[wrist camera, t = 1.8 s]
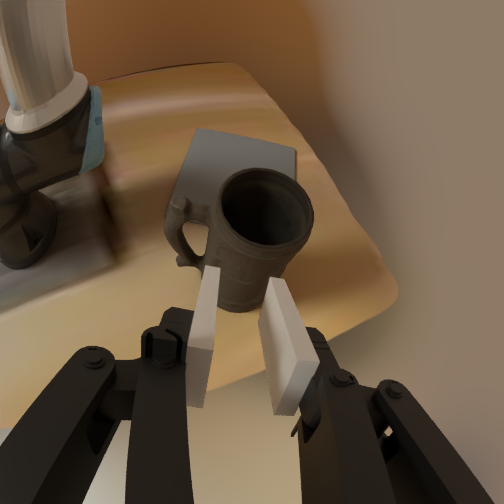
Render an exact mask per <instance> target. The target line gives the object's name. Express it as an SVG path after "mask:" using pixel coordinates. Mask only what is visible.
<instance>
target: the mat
mask: <svg viewBox="0 0 504 504" xmlns="http://www.w3.org/2000/svg"><path fill="white" fill-rule="evenodd" d="M254 167H255V168H268V169H272V170H276V171H278V172H281V173H283V174H285V175H287V176H289V177H290V178H292V179H293V180H295V148H292V147H288V146H284V145H280V144H276V143H272V142H268V141H263V140H259V139H254V138H250V137H245V136H240V135H235V134H230V133H225V132H219V131H213V130H208V129H202V128H197V130H196V132H195V135H194V137H193V140H192V142H191V145H190V147H189V150H188V152H187V155H186V158H185V160H184V163H183V165H182V168H181V171H180V174H179V176H178V179H177V182H176V185H175V188H174V190H173V193H172V196H171V199H172V198H173V197H175V196H179V195H185V196H186V197H187V198H188V199H189V200H190V201H191V202H194V203H199V204H204V205H209V206H211V205H212V204H213V201H214V198H215V196H216V194H217V192H218V191H219V188H220V187H221V185H222V184H223V182H224V181H225V180H226V179H227V178H228V177H229V176H231V175H232V174H234V173H236V172H238V171H241V170H243V169H248V168H254ZM171 199H170V200H171ZM170 209H171V205H170V202H169V205H168V208H167V211H166V214H165V218H167V216H168V214H169V213H170ZM187 222H192V223H198V224H203V225H206V224H205V223H202V222H199V221H195V220H190V221H187Z"/></svg>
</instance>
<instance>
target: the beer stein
mask: <svg viewBox="0 0 504 504" xmlns="http://www.w3.org/2000/svg"><path fill="white" fill-rule="evenodd" d="M170 205H171V209H170V213H169V214H168V216H167V218H166V221H165V225H164V232H165V236H166V238H167V240H168V242H169V244H170V245H171V246H172V247H173V249H174V250H175V251H176V252H177V253H178V254H179V255H178V256H177V258H176V262H177V265H178V266H179V267H182V266H192V267H196V268H198V269H199V270H201V272H202V277H203V273H204V269H205V265H207V266H213V267H218V268H220V278H219V289H218V300H217V306H218V307H219V308H221V309H223V310H226V311H229V312H246V311H250V310H252V309H254V308H256V307H257V306H259V305H260V304H261V303H262V302H263V301H264V298H265V294H266V290H267V286H268V283H269V279H270V277H274V278H280V276H281V275H282V273H283V272H284V270H285V268H286V265H287V264H288V263H289V261H290V260H291V259H292V258H293V257H294V256H295V254H296V253H297V252H299V251H300V250H301V249H302V247H303V246H304V245H305V244H306V242H307V241H308V238H309V236H310V234H311V229H312V227H313V222H314V211H313V208H312V204H311V201H310V199H309V197H308V195H307V194H306V192H305V190H304V189H303V188H302V187H301V186H300V185H299V184H298V183H297V182H296V181H295V180H293V179H292V178H290V177H289V176H287V175H285V174H283V173H281V172H278V171H276V170H272V169H268V168H255V167H254V168H248V169H243V170H241V171H238V172H236V173H234V174H232V175H231V176H229V177H228V178H227V179H226V180H225V181H224V182H223V184H222V185H221V187H220V188H219V191H218V192H217V194H216V196H215V198H214V201H213V204H212V205H211V206H209V205H204V204H199V203H194V202H191V201H190V200H189V199H188V198H187V197H186V196H185V195H179V196H175V197H173V198H172V199H171V200H170ZM190 220H195V221H199V222H202V223H205V224H206V225H207V226H208V227H209V233H208V239H207V245H206V251H205V254H204V255H203V256H198V255H196V254H195V253H194V252H193V250H192V249H191V247H190V246H189V244H188V243H187V241H186V239H185V237H184V234H183V232H182V225H183V224H184V223H185V222H187V221H190ZM202 277H201V278H202Z"/></svg>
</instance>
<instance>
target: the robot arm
mask: <svg viewBox="0 0 504 504" xmlns="http://www.w3.org/2000/svg"><path fill="white" fill-rule="evenodd" d="M0 77H1V80H2V83H3V86H4V89H5V92H6V94H7V97H8V99H9V102H10V107H9V110H8V112H7V115H6V119H5V122H4V123H2V124H0V262H1V263H3V264H4V265H5V266H7V267H8V268H11V269H20V268H24V267H27V266H29V265H30V264H32V263H33V262H35V261H36V260H37V259H38V258H39V257H40V256H41V255H42V254H43V253H44V252H45V250H46V249H47V248H48V246H49V244H50V242H51V240H52V238H53V236H54V233H55V229H56V223H57V216H56V211H55V209H54V207H53V205H52V203H51V201H50V200H49V198H48V197H47V196H46V195H44V194H43V193H41V192H39V191H38V190H40V189H42V188H45V187H47V186H50V185H52V184H55V183H57V182H60V181H63V180H65V179H68V178H71V177H74V176H77V175H81V174H82V173H83V172H85V171H87V170H90V169H92V168H95V167H97V166H98V165H99V164H100V163H101V162H102V160H103V158H104V135H103V122H102V102H101V91H100V88H99V87H98V86H90V87H89V86H88V81H87V79H86V77H85V76H84V75H83V74H81V73H78V72H75V71H73V65H72V60H71V53H70V46H69V39H68V30H67V19H66V7H65V0H0ZM219 278H220V268H218V267H213V266H207V265H205V269H204V273H203V277H202V282H201V286H200V290H199V294H198V299H197V303H196V307H195V311H191V310H186V309H181V308H176V307H171V308H169V309H168V310H167V311H165V312H164V314H163V317H162V319H161V322H160V324H159V326H155V327H150V328H148V329H147V330H145V331H144V332H143V334H142V336H141V357H140V358H138V359H134V360H115V358H114V356H113V354H112V353H111V352H110V351H109V350H107V349H105V348H103V347H98V346H87V347H84V348H81V349H79V350H78V351H77V352H76V353H75V354H74V355H73V356H72V357H71V358H70V359H69V360H68V362H67V363H66V364H65V365H64V366H63V367H62V369H61V370H60V371H59V372H58V373H57V374H56V376H55V377H54V378H53V379H52V380H51V381H50V383H49V384H48V385H47V386H46V387H45V389H44V390H43V391H42V392H41V394H40V395H39V396H38V397H37V398H36V400H35V401H34V402H33V403H32V405H31V406H30V407H29V408H28V410H27V411H26V412H25V414H24V415H23V416H22V417H21V419H20V420H19V421H18V423H17V424H16V425H15V427H14V428H13V429H12V431H11V432H10V433H9V435H8V436H7V437H6V439H5V441H4V442H3V443H2V444H1V446H0V504H82V503H83V501H84V498H85V496H86V494H87V492H88V489H89V487H90V485H91V483H92V481H93V479H94V476H95V474H96V472H97V470H98V467H99V465H100V463H101V461H102V459H103V457H104V455H105V453H106V451H107V449H108V447H109V445H110V443H111V441H112V438H113V436H114V434H115V432H116V430H117V428H118V426H119V424H120V422H121V420H131V428H130V437H129V448H128V459H127V471H126V491H125V504H194V499H193V491H192V481H191V471H190V459H189V446H188V430H187V410H186V406H192V407H198V408H203V404H204V398H205V393H206V387H207V382H208V376H209V371H210V365H211V360H212V354H213V347H214V335H215V322H216V311H217V300H218V289H219ZM258 325H259V331H260V336H261V342H262V348H263V354H264V360H265V366H266V372H267V378H268V383H269V389H270V395H271V401H272V407H273V412H274V415H286V416H294V414H295V412H296V411H297V408H298V407H299V408H300V412H301V416H300V418H299V420H298V422H297V424H296V425H295V427H294V429H293V430H292V432H291V437H294V435H295V433H296V432H297V430H298V443H299V457H300V474H301V491H302V504H494V502H493V501H492V499H491V498H490V497H489V495H488V494H487V493H486V491H485V489H484V488H483V487H482V485H481V484H480V483H479V481H478V480H477V478H476V477H475V476H474V474H473V473H472V472H471V470H470V469H469V468H468V466H467V465H466V463H465V462H464V461H463V459H462V458H461V457H460V455H459V454H458V453H457V451H456V450H455V449H454V448H453V446H452V445H451V444H450V442H449V441H448V440H447V438H446V437H445V436H444V434H443V433H442V432H441V431H440V429H439V428H438V427H437V426H436V424H435V423H434V422H433V420H431V418H430V417H429V415H428V414H427V413H426V412H425V410H424V409H423V408H422V407H421V405H420V404H419V403H418V402H417V400H416V399H415V398H414V397H413V395H412V394H411V393H410V392H409V391H408V389H407V388H406V387H405V386H404V385H403V384H401V383H399V382H397V381H394V380H383V381H381V382H380V383H379V385H378V387H377V388H371V387H366V386H361V385H359V384H358V381H357V379H356V378H355V376H354V375H352V374H351V373H350V372H348V371H346V370H344V369H340V367H339V365H338V364H337V361H336V359H335V357H334V355H333V353H332V351H331V350H330V347H329V345H328V344H327V341H326V339H325V337H324V335H323V334H322V333H321V332H320V331H319V330H317V329H316V328H312V327H305V326H304V323H303V321H302V319H301V316H300V314H299V312H298V309H297V307H296V305H295V303H294V300H293V298H292V296H291V293H290V291H289V289H288V287H287V284H286V282H285V280H284V279H280V278H274V277H270V279H269V283H268V286H267V290H266V294H265V298H264V302H263V305H262V309H261V313H260V317H259V320H258ZM389 426H390V428H391V429H392V431H393V432H392V434H391V435H390V436H387V435H386V434H385V433H384V432H385V431H386V429H387V428H388V427H389Z"/></svg>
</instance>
